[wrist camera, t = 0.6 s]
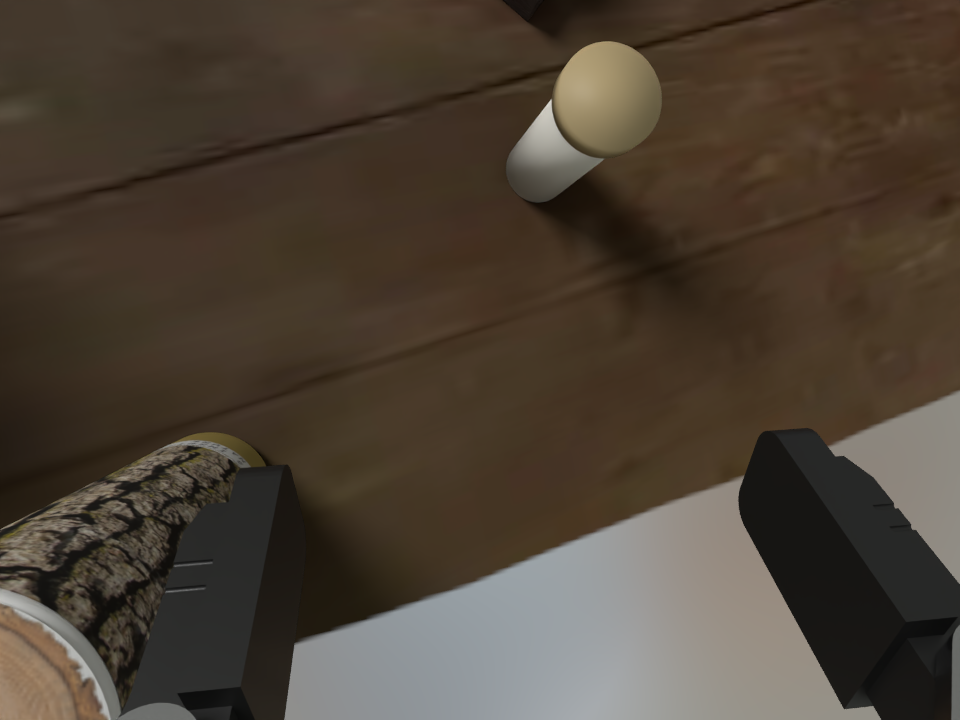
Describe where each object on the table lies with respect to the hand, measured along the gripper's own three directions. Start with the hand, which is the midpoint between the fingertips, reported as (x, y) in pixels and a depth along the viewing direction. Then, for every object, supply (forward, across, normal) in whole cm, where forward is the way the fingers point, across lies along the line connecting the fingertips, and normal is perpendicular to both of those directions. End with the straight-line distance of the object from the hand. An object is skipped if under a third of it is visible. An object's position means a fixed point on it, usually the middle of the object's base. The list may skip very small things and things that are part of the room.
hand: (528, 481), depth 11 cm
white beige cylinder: (+31, -6, +6) cm, 32 cm away
